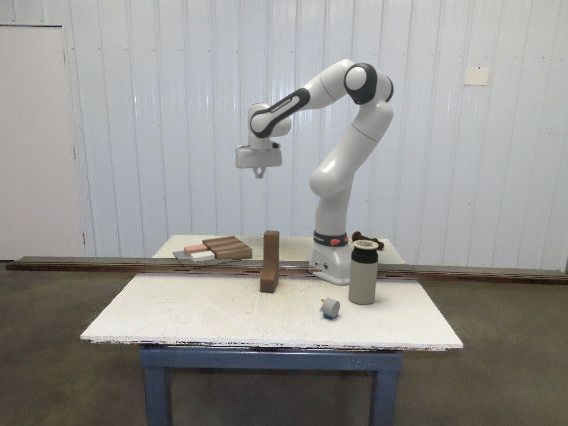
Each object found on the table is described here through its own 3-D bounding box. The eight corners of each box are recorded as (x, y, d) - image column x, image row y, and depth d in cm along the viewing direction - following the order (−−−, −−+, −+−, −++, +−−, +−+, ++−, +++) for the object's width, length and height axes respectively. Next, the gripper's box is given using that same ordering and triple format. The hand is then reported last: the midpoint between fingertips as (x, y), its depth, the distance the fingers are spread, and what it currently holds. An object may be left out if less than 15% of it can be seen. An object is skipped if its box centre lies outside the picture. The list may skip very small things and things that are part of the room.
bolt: (380, 255, 158) (353, 244, 169) (387, 247, 160) (359, 237, 171) (377, 245, 155) (350, 235, 166) (384, 237, 157) (356, 228, 168)
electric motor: (327, 307, 108) (328, 292, 107) (341, 313, 105) (342, 297, 104) (314, 316, 103) (314, 300, 101) (328, 322, 100) (329, 306, 99)
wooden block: (273, 293, 116) (274, 239, 112) (259, 291, 117) (259, 237, 113) (278, 281, 125) (279, 230, 121) (265, 280, 126) (266, 229, 121)
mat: (218, 264, 138) (218, 263, 138) (186, 270, 132) (186, 269, 132) (201, 248, 155) (201, 247, 155) (172, 253, 149) (172, 252, 149)
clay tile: (207, 253, 148) (207, 247, 147) (187, 256, 144) (187, 250, 144) (203, 249, 152) (203, 244, 152) (184, 252, 148) (184, 246, 148)
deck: (252, 258, 146) (252, 248, 145) (218, 264, 139) (218, 254, 138) (233, 244, 162) (233, 235, 161) (202, 249, 155) (202, 240, 154)
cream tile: (214, 260, 140) (214, 254, 140) (194, 264, 137) (193, 258, 136) (210, 256, 145) (210, 250, 144) (190, 260, 141) (190, 253, 140)
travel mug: (355, 306, 109) (359, 249, 105) (344, 294, 116) (347, 240, 112) (379, 303, 111) (384, 247, 107) (366, 292, 118) (371, 238, 114)
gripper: (238, 145, 142) (239, 181, 145) (284, 144, 152) (284, 177, 155) (232, 144, 147) (233, 179, 150) (276, 143, 157) (276, 175, 161)
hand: (259, 178), depth 153 cm, fingers closed
